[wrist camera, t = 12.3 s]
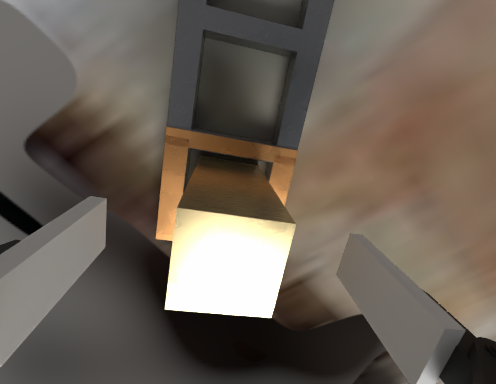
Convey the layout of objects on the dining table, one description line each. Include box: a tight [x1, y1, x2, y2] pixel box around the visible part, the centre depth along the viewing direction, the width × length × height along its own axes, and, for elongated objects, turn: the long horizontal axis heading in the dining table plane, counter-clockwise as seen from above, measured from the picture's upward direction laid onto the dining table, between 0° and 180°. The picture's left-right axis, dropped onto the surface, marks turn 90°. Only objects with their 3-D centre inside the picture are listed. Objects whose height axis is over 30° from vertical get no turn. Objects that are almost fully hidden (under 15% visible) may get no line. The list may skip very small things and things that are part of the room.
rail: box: [156, 0, 334, 241], centre depth 19 cm, size 10×25×2 cm, turn 169°
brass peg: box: [165, 156, 296, 318], centre depth 17 cm, size 5×5×12 cm
